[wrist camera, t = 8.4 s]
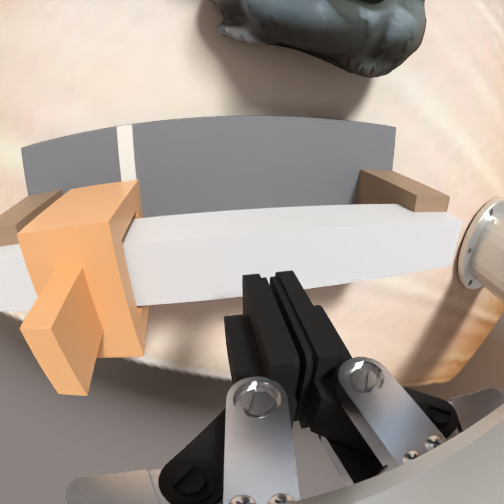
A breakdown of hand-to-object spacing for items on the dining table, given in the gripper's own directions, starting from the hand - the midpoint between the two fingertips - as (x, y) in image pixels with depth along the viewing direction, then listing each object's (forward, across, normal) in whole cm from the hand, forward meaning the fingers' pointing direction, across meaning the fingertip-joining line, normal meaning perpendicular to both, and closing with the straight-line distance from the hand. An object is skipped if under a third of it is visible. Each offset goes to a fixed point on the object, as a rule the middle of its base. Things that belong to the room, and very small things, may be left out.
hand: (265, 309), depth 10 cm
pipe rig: (+12, +1, 0) cm, 12 cm away
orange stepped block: (+7, +7, 0) cm, 10 cm away
